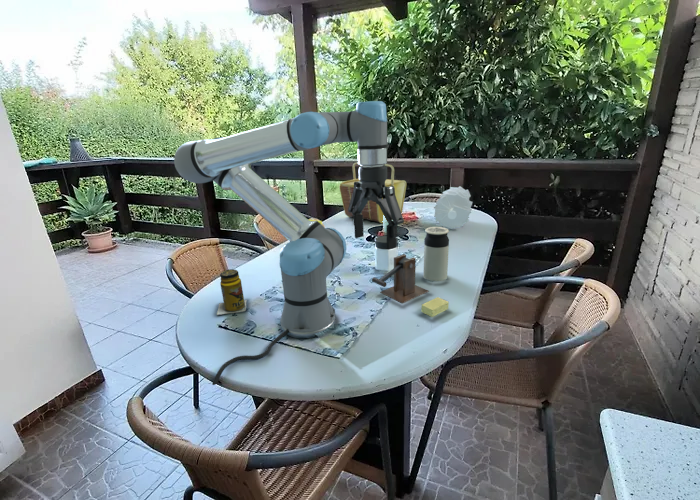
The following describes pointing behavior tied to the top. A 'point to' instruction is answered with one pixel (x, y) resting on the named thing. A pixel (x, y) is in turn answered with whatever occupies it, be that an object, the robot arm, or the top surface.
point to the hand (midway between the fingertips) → (374, 242)
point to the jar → (384, 254)
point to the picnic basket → (371, 208)
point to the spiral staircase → (453, 208)
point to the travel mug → (436, 254)
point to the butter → (434, 306)
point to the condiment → (231, 293)
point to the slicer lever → (389, 274)
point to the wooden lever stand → (404, 282)
